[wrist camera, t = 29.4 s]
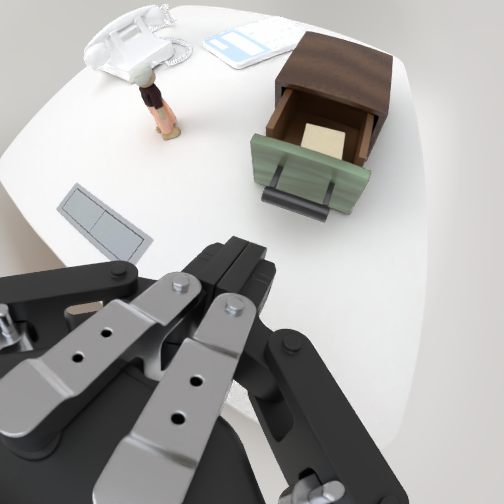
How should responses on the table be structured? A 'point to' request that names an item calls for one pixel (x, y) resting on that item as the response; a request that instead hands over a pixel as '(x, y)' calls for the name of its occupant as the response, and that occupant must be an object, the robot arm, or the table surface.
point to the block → (323, 140)
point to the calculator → (255, 41)
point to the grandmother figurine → (154, 100)
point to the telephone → (133, 43)
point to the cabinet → (340, 75)
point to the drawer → (312, 156)
